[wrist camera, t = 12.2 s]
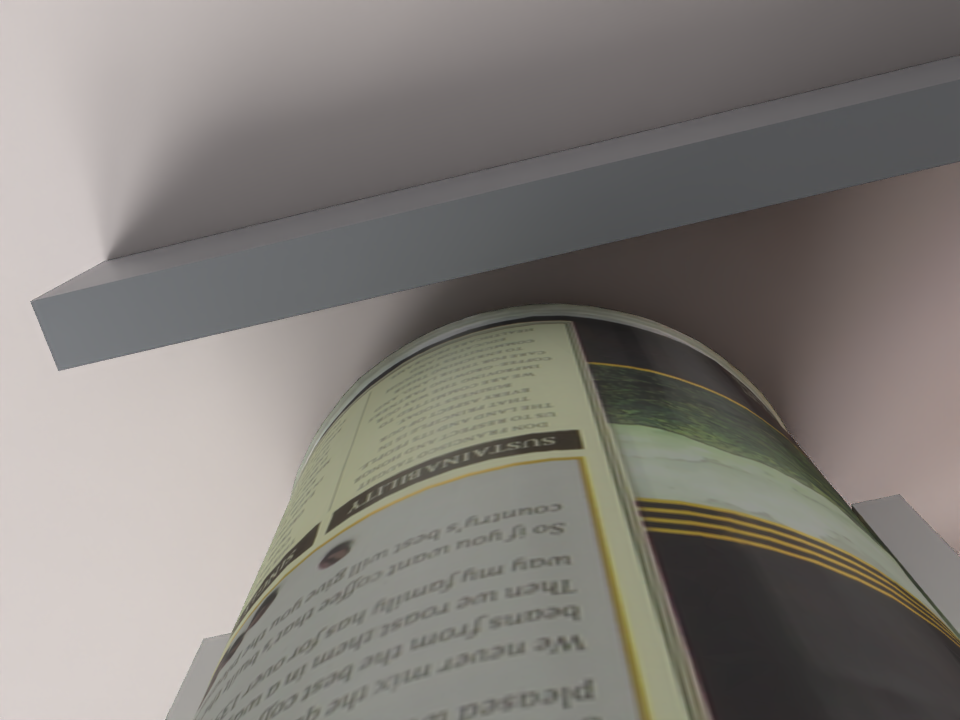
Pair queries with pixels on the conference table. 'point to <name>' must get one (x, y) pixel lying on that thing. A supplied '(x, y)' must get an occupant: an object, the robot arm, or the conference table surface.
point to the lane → (510, 214)
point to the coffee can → (573, 548)
